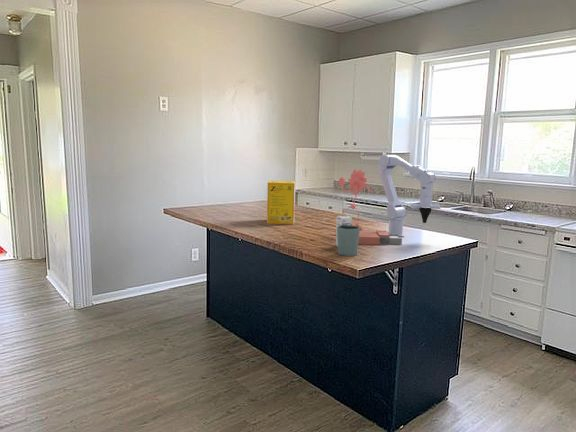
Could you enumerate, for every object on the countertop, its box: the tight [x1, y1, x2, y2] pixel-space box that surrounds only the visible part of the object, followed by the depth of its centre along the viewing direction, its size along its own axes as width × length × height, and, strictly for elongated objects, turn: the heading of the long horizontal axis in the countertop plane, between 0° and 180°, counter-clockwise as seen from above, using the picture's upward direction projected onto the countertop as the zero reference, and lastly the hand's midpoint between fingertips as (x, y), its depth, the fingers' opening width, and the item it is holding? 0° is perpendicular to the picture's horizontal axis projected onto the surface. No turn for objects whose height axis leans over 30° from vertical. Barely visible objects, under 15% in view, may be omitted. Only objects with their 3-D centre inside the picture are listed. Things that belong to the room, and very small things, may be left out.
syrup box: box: [335, 215, 353, 247], centre depth 209 cm, size 6×6×14 cm
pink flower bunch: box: [338, 169, 374, 231], centre depth 244 cm, size 15×26×35 cm, turn 38°
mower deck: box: [358, 229, 403, 246], centre depth 224 cm, size 16×21×4 cm
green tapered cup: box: [337, 225, 361, 257], centre depth 195 cm, size 10×10×12 cm
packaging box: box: [266, 180, 296, 225], centre depth 275 cm, size 16×16×25 cm
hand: (424, 222), depth 226 cm, fingers closed
